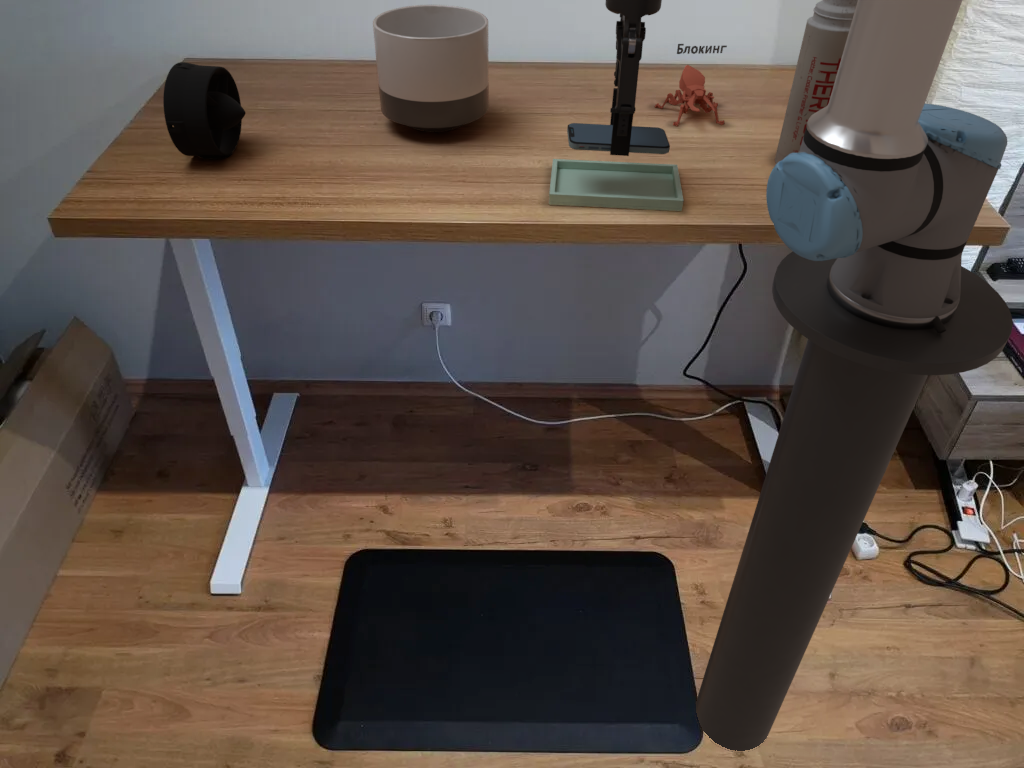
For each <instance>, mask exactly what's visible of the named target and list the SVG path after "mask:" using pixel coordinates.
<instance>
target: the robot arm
mask: <svg viewBox="0 0 1024 768" xmlns="http://www.w3.org/2000/svg"><path fill="white" fill-rule="evenodd" d="M662 2H663V0H605V3H604V5H605V8H606V9H607V10H608V11H609V12H611V13H613V14H616V15H619V18H620V20H616V22H615V23H616V24H615V51H616V56H615V70H614V72H613V76H614V80H613V85H614V87H613V90H612V99H611V107H610V110H609V111H610V122H609V125H613V129H612V139H611V150H610V151H609V155H610V156H621V157H622V156H623V157H629V156H630V153H629V149H630V140H631V131H632V126H633V121H634V114H635V112H636V109H637V108H636V99H637V90H638V81H639V70H640V61H641V60H642V58H643V57H642V56H643V47H644V46H643V45H644V41H645V39H646V32H647V30H646V29H647V28H646V21H642V18H644V17H646V16H652V15H656V14H657V13H658V12H660V10H661V8H662ZM962 3H963V0H858V2H857V6H856V9H855V13H854V16H853V20H852V23H851V27H850V30H849V34H848V37H847V41H846V44H845V48H844V51H843V55H842V58H841V62H840V65H839V69H838V72H837V76H836V79H835V83H834V86H833V90H832V93H831V97H830V100H829V104H828V105H827V106H826V107H824V108H823V109H821V110H819V111H818V112H816V113H814V114H813V115H811V117H810V118H809V120H808V122H807V125H806V129H805V133H804V136H803V140H802V144H801V147H800V150H799V152H798V153H791V154H789V155H787V156H786V157H785V158H784V159H783V160H782V161H779V162H778V163H777V164H776V163H775V164H774V166H773V168H772V170H770V173H769V176H768V179H767V184H766V189H765V191H766V192H765V193H766V194H765V200H766V208H767V212H768V216H769V219H770V221H771V222H772V225H773V227H774V231H775V232H776V234H777V236H778V237H779V239H780V240H781V242H783V244H784V245H785V246H786V247H787V248H788V249H789V250H790V251H792V252H795V253H796V254H798V255H799V256H801V257H803V258H806V259H809V260H813V261H825V260H830V259H835V258H837V260H836V261H835V262H834V264H833V265H832V267H831V270H830V273H829V276H828V280H827V289H828V291H829V294H830V295H831V297H832V298H833V299H834V300H835V301H836V302H837V303H838V304H839V305H840V306H841V307H842V308H844V309H845V310H847V311H848V312H850V313H852V314H853V315H855V316H857V317H859V318H861V319H864V320H866V321H869V322H872V323H875V324H878V325H882V326H886V327H891V328H897V329H906V330H921V329H929V328H935V329H936V331H937V333H938V334H941V333H943V332H945V331H946V329H945V327H944V325H943V324H945V323H946V322H948V321H949V320H950V319H951V318H952V317H953V315H954V313H955V311H956V308H957V306H958V304H959V301H960V291H961V266H962V259H963V258H962V257H963V256H962V255H963V252H964V250H965V247H966V245H967V242H968V240H969V239H970V235H971V234H972V231H973V229H974V227H975V224H976V222H977V220H978V217H979V215H980V213H981V211H982V208H983V206H984V203H985V202H986V199H987V197H988V194H989V192H990V191H991V187H992V185H993V183H994V182H995V181H994V180H995V178H996V176H997V174H998V172H999V170H1001V167H1002V160H1003V157H1004V154H1005V152H1006V148H1007V146H1008V136H1007V134H1006V133H1005V131H1004V130H1003V129H1002V128H1001V127H1000V126H999V125H998V124H997V123H994V122H992V120H991V121H990V120H989V119H986V118H984V117H983V116H980V115H977V114H974V113H972V112H968V111H966V110H962V109H959V108H954V107H950V106H946V105H939V104H931V103H926V101H927V99H928V96H929V93H930V90H931V87H932V85H933V82H934V79H935V76H936V74H937V72H938V68H939V65H940V63H941V60H942V58H943V55H944V52H945V50H946V47H947V44H948V41H949V39H950V35H951V33H952V30H953V27H954V25H955V22H956V19H957V16H958V14H959V10H960V8H961V5H962Z"/></svg>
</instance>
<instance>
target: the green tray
mask: <svg viewBox="0 0 1024 768" xmlns="http://www.w3.org/2000/svg"><path fill="white" fill-rule="evenodd" d="M681 183H682V182H681V178H680V172H679V166H678V164H676V163H654V162H653V163H652V162H651V163H650V162H631V161H611V160H610V161H609V160H608V161H607V160H589V159H588V160H587V159H566V158H552V165H551V174H550V183H549V184H550V185H549V192H548V205H550V206H567V207H587V208H604V209H605V208H608V209H627V210H647V211H648V210H649V211H667V212H668V211H669V212H683V208H684V195H683V190H682V189H683V188H682V184H681Z"/></svg>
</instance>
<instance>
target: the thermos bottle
mask: <svg viewBox="0 0 1024 768" xmlns="http://www.w3.org/2000/svg"><path fill="white" fill-rule="evenodd" d="M857 2H858V0H820V1H818V2H816V4H815V7H814V8H813V15H812V16H810V17H809V18H808V19H807V20H806V24H805V28H804V32H803V36H802V41H801V46H800V49H799V53H798V58H797V63H796V67H795V71H794V75H793V80H792V83H791V88H790V92H789V97H788V100H787V104H786V110H785V113H784V118H783V123H782V127H781V130H780V136H779V140H778V144H777V147H776V148H777V149H776V151H775V152H776V153H775V157H774V163H775V165H776V164H777V163H778V162H779V161H782V160H783V159H784V158H785V157H786V156H787V155H789V154H791V153H798V152H799V150H800V147H801V144H802V140H803V136H804V133H805V129H806V125H807V122H808V120H809V118H810V117H811V115H813V114H814V113H816V112H818V111H819V110H821V109H823V108H824V107H826V106H827V105H828V104H829V100H830V97H831V93H832V90H833V86H834V83H835V79H836V76H837V72H838V69H839V65H840V62H841V58H842V55H843V51H844V48H845V44H846V41H847V37H848V34H849V30H850V27H851V23H852V20H853V16H854V13H855V9H856V6H857Z"/></svg>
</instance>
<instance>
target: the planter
mask: <svg viewBox="0 0 1024 768" xmlns="http://www.w3.org/2000/svg"><path fill="white" fill-rule="evenodd" d="M372 31H373V39H374V41H373V42H374V51H375V52H374V53H375V61H376V62H375V65H376V74H377V84H378V95H379V106H380V111H381V114H382V115H383V116H384V117H385V118H387V119H388V120H390V121H392V122H394V123H397V124H400V125H403V126H406V127H409V128H411V129H413V130H417V131H421V132H425V133H444V132H449V131H452V130H456V129H458V128H460V127H463V126H465V125H466V124H470V123H473V122H475V121H478V120H479V119H481V118H483V117H484V116H485V115H486V114H487V113H488V111H489V109H490V77H489V75H490V74H489V73H490V69H489V68H490V67H489V60H490V59H489V58H490V57H489V51H490V50H489V45H490V44H489V19H488V17H486V15H485V14H483V13H481V12H480V11H477V10H475V9H472V8H467V7H463V6H458V5H457V6H456V5H449V4H417V5H407V6H400V7H396V8H392V9H389V10H386V11H384V12H381V13H380V14H377V16H375V17H374V19H373V20H372Z"/></svg>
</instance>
